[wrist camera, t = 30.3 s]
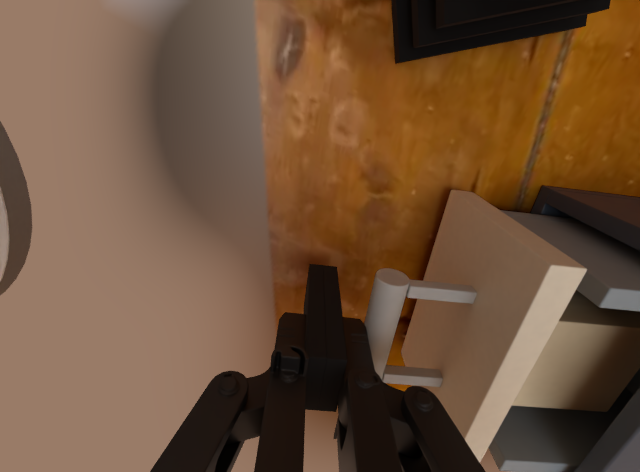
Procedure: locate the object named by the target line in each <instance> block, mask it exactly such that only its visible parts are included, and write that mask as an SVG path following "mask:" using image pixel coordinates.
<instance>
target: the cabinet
mask: <svg viewBox="0 0 640 472" xmlns="http://www.w3.org/2000/svg"><path fill="white" fill-rule="evenodd" d="M530 214H538V215H547V216H555V217H564V218H572V219H577V220H579V221H581V222H583V223H585V224H587V225H589V226H591V227H593V228H595V229H597V230H599V231H601V232H603V233H605V234H607V235H609V236H611V237H613V238H615V239H617V240H619V241H621V242H623V243H625V244H627V245H629V246H631V247H633V248H635V249H637V250H639V251H640V197H633V196H624V195H616V194H608V193H600V192H592V191H584V190H575V189H567V188H559V187H551V186H542V188H541V190H540V192H539V195H538V197H537V199H536V202H535V204H534V206H533V208H532V211H531V213H530ZM574 472H640V387H639V389H638V390H637V391H636V393H635V394H634V395H633V396H632V398H631V399H630V400H629V402H628V403H627V404H626V405H625V407H624V408H623V409H622V411H621V412H620V413H619V414H618V416H617V417H616V418H615V420H614V421H613V422H612V423H611V425H610V426H609V427H608V429H607V430H606V431H605V432H604V434H603V435H602V436H601V438H600V439H599V440H598V441H597V443H596V444H595V445H594V447H593V448H592V449H591V450H590V452H589V453H588V454H587V456H586V457H585V458H584V459H583V461H582V462H581V463H580V465H579V466H578V467H577V468H576V470H575V471H574Z"/></svg>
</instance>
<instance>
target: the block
mask: <svg viewBox="0 0 640 472" xmlns="http://www.w3.org/2000/svg"><path fill="white" fill-rule="evenodd" d="M639 368H640V312H639V311H630V310H620V309H609V308H600V307H598V306H597V305H595V304H594V303H593V302H592V301H590V300H589V299H588V298H586V297H585V296H584V295H583V294H581V293H580V292H579V291H577V290H576V291H575V293H574V294H573V296H572V298H571V300H570V302H569V303H568V305H567V307H566V309H565V311H564V312H563V314H562V316H561V318H560V320H559V321H558V323H557V325H556V327H555V329H554V330H553V332H552V334H551V336H550V338H549V339H548V341H547V343H546V345H545V346H544V348H543V350H542V352H541V354H540V355H539V357H538V359H537V361H536V363H535V364H534V366H533V368H532V370H531V372H530V373H529V375H528V377H527V379H526V381H525V382H524V384H523V386H522V388H521V390H520V391H519V393H518V395H517V397H516V399H515V400H514V402H513V404H512V406H527V407H541V408H556V409H571V410H586V411H601V412H607V411H608V410H609V409H610V407H611V406H612V405H613V403H614V402H615V401H616V399H617V398H618V397H619V395H620V394H621V393H622V391H623V390H624V389H625V387H626V386H627V384H628V383H629V382H630V380H631V379H632V378H633V376H634V375H635V374H636V372H637V371H638V370H639Z"/></svg>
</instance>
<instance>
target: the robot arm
mask: <svg viewBox="0 0 640 472" xmlns="http://www.w3.org/2000/svg"><path fill="white" fill-rule="evenodd" d="M337 405H338V413H339V415H338V420H337V424H336V428H335V433H334V439H336V438H337V442H338V460H339V472H485V470H484V469H483V467H482V466H481V464H480V463H479V461H478V459H477V458H476V456H475V455H474V453H473V452H472V450H471V449H470V447H469V446H468V444H467V442H466V441H465V439H464V438H463V436H462V435H461V433H460V432H459V430H458V428H457V427H456V425H455V424H454V422H453V421H452V419H451V418H450V416H449V415H448V413H447V411H446V410H445V408H444V407H443V405H442V404H441V402H440V401H439V399H438V398H437V397H436V396H435V394H434V393H432V392H431V391H429V390H428V389H426V388H423V387H421V386H412V387H409V388H407V390H406V391H405V392H404V391H401V390H398V389H395V388H393V387H391V386H389V385H387V384H385V383H384V382H383V381H382V380H381V378H380V376H379V375H378V374H377V373H376V371H375V368H374V364H373V359H372V354H371V349H370V344H369V339H368V335H367V330H366V326H365V325H364V324H363V322H362V321H361V320H360V319H355V318H345V317H342V308H341V299H340V290H339V282H338V273H337V267H334V266H325V265H316V264H310V265H309V272H308V280H307V287H306V294H305V302H304V314H297V313H287V312H285V313H284V314H283V315H282V317H281V318H280V319H279V325H278V331H277V337H276V343H275V350H274V351H273V353H272V356H271V367H270V368H269V369H268V370H267V371H266V372H265V373H263V374H261V375H258V376H255V377H250V378H246V377H245V376H244V375H243V374H241V373H239V372H235V371H228V372H223V373H221V374H219V375H217V376H215V377H214V379H213V380H212V381H211V382H210V383H209V385H208V386H207V388H206V389H205V391H204V392H203V394H202V395H201V397H200V399H199V400H198V401H197V403H196V404H195V406H194V407H193V409H192V410H191V412H190V413H189V415H188V416H187V418H186V419H185V421H184V422H183V424H182V425H181V426H180V428H179V430H178V431H177V432H176V434H175V435H174V437H173V439H172V440H171V441H170V443H169V444H168V446H167V448H166V449H165V450H164V452H163V453H162V455H161V456H160V458H159V459H158V461H157V462H156V464H155V465H154V467H153V468H152V470H151V471H150V472H231V470H232V468H233V465H234V463H235V461H236V459H237V457H238V454H239V452H240V450H241V448H242V446H243V443H244V441H245V440H247V439H251V438H255V437H258V436H260V438H259V445H258V451H257V457H256V463H255V471H254V472H303V458H304V428H305V409H308V410H320V411H334V412H336V409H337Z"/></svg>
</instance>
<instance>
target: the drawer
mask: <svg viewBox="0 0 640 472" xmlns="http://www.w3.org/2000/svg"><path fill="white" fill-rule="evenodd" d="M576 290H577V291H579V292H580V293H581V294H583V295H584V296H585V297H586V298H588V299H589V300H590V301H592V302H593V303H594V304H595V305H597V306H598V307H600V308H609V309H620V310H630V311H639V312H640V251H639V250H637V249H635V248H633V247H631V246H629V245H627V244H625V243H623V242H621V241H619V240H617V239H615V238H613V237H611V236H609V235H607V234H605V233H603V232H601V231H599V230H597V229H595V228H593V227H591V226H589V225H587V224H585V223H583V222H581V221H579V220H577V219H572V218H564V217H555V216H547V215H538V214H529V213H521V212H512V211H503V210H499V209H497V208H496V207H494V206H493V205H491V204H490V203H488V202H487V201H485V200H484V199H482V198H481V197H479V196H478V195H476V194H475V193H473V192H468V191H460V190H451V192H450V195H449V198H448V201H447V205H446V208H445V211H444V214H443V217H442V221H441V224H440V227H439V230H438V234H437V237H436V240H435V243H434V247H433V250H432V253H431V256H430V260H429V263H428V266H427V269H426V273H425V276H424V279H423V281H421V280H411V279H409V278H408V276H407V275H405V274H404V273H402V272H401V271H398V270H395V269H391V268H383V269H379V270H378V271H377V272H376V275H375V279H374V284H373V288H372V292H371V296H370V301H369V305H368V309H367V314H366V318H365V322H364V325H365V326H366V330H367V335H368V339H369V344H370V349H371V354H372V359H373V364H374V368H375V371H376V373H377V374H378V375H379V376H380V378H381V380H382V381H383V382H384V383H392V384H405V385H412V386H421V387H423V388H426V389H428V390H429V391H431V392H432V393H434V394H435V396H436V397H437V398H438V399H439V401H440V402H441V404H442V405H443V407H444V408H445V410H446V411H447V413H448V415H449V416H450V418H451V419H452V421H453V422H454V424H455V425H456V427H457V428H458V430H459V432H460V433H461V435H462V436H463V438H464V439H465V441H466V442H467V444H468V446H469V447H470V449H471V450H472V452H473V453H474V455H475V456H476V458H477V459H478V461H479V463H480V461H481V460H482V458H483V456H484V454H485V452H486V451H487V449H488V448H489V449H490V452H491V454H492V456H493V458H494V460H495V462H496V464H497V466H498V468H499V470H500V471H510V472H511V471H512V472H574V471H575V470H576V468H577V467H578V466H579V465H580V463H581V462H582V461H583V459H584V458H585V457H586V456H587V454H588V453H589V452H590V450H591V449H592V448H593V447H594V445H595V444H596V443H597V441H598V440H599V439H600V438H601V436H602V435H603V434H604V432H605V431H606V430H607V429H608V427H609V426H610V425H611V423H612V422H613V421H614V420H615V418H616V417H617V416H618V414H619V413H620V412H621V411H622V409H623V408H624V407H625V405H626V404H627V403H628V402H629V400H630V399H631V398H632V396H633V395H634V394H635V393H636V391H637V390H638V389H639V387H640V368H639V370H638V371H637V372H636V374H635V375H634V376H633V378H632V379H631V380H630V382H629V383H628V384H627V386H626V387H625V389H624V390H623V391H622V393H621V394H620V395H619V397H618V398H617V399H616V401H615V402H614V403H613V405H612V406H611V407H610V409H609V410H608V411H607V412H601V411H586V410H571V409H556V408H541V407H527V406H512V404H513V402H514V400H515V399H516V397H517V395H518V393H519V391H520V390H521V388H522V386H523V384H524V382H525V381H526V379H527V377H528V375H529V373H530V372H531V370H532V368H533V366H534V364H535V363H536V361H537V359H538V357H539V355H540V354H541V352H542V350H543V348H544V346H545V345H546V343H547V341H548V339H549V338H550V336H551V334H552V332H553V330H554V329H555V327H556V325H557V323H558V321H559V320H560V318H561V316H562V314H563V312H564V311H565V309H566V307H567V305H568V303H569V302H570V300H571V298H572V296H573V294H574V293H575V291H576ZM406 296H407V297H408V298H416V299H417V302H416V305H415V308H414V311H413V315H412V318H411V321H410V324H409V328H408V331H407V334H406V337H405V341H404V344H403V347H402V350H401V354H402V357H403V360H404V363H405V366H406V367H404V366H391V365H386V363H387V359H388V356H389V352H390V349H391V345H392V342H393V339H394V335H395V332H396V328H397V325H398V321H399V318H400V314H401V311H402V307H403V304H404V300H405V297H406Z"/></svg>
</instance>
